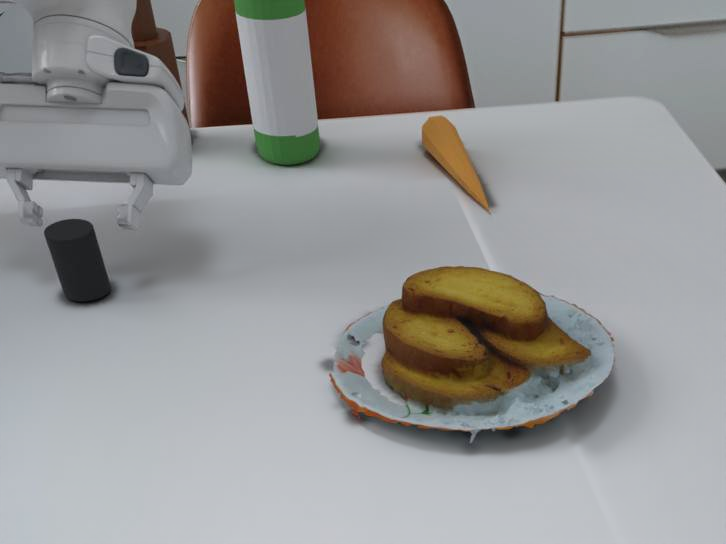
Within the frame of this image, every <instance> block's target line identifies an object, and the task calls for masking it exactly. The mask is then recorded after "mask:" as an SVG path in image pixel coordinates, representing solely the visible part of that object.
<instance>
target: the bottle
mask: <svg viewBox="0 0 726 544" xmlns="http://www.w3.org/2000/svg"><path fill="white" fill-rule="evenodd" d="M152 5H153V4H152V1H151V0H137V5H136V12H135V15H134V18H133V21H132V25H131V34H132V38H133V42H134V47H135V49H137V50H139V51H142V52H145V53H148V54H150V55H153V56H155V57H157V58H158V59H160V60H161V61H162V63H163V64H164V65H165V66H166V67H167V68H168V70H169V71H170V72H171V73H172V75H173V76H174V78H175V79H176V81H177V82H178V84H179V86H180V88H181V90H182V92H183V93H184V91H183V86H182V81H181V76H180V72H179V67H178V61H177V56H176V52H175V47H174V42H173V36H172V33H171V31H169V30H167V29H165V28H162V27H158V26H157V25H156V20H155V14H154V10H153V6H152ZM181 112H182V114H183V115H184V117H185V118H186V120H187V122H188V125H189V128H190V129H191V126H190V121H189V116H188V110H187V106H186V101H185V100H184V108H183V110H182V111H181ZM190 135H191V145H192V146H193V136H192V130H190Z"/></svg>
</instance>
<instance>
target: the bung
mask: <svg viewBox="0 0 726 544" xmlns="http://www.w3.org/2000/svg"><path fill="white" fill-rule="evenodd" d="M43 236H44V238H45V241H46V244H47V247H48V250H49V253H50V256H51V259H52V262H53V265H54V268H55V271H56V274H57V277H58V280H59V283H60V287H61V289H62V292H63V295H64V296H65V298H66V299H68V300H71V301H74V302H91V301H95V300H98V299H100V298H103V297H104V296H105V297H106V295H107V294H109V293H110V291H111V288H112V285H111V281H110V279H109V275H108V272H107V269H106V265H105V261H104V258H103V255H102V251H101V248H100V245H99V241H98V237H97V234H96V232H95V227H94V225H93V223H92V222H90V221H89V220H85V219H81V218H68V219H61V220H58V221H55V222H52V223H50V224H48V225H47V226H46V227H45V229H43Z"/></svg>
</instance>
